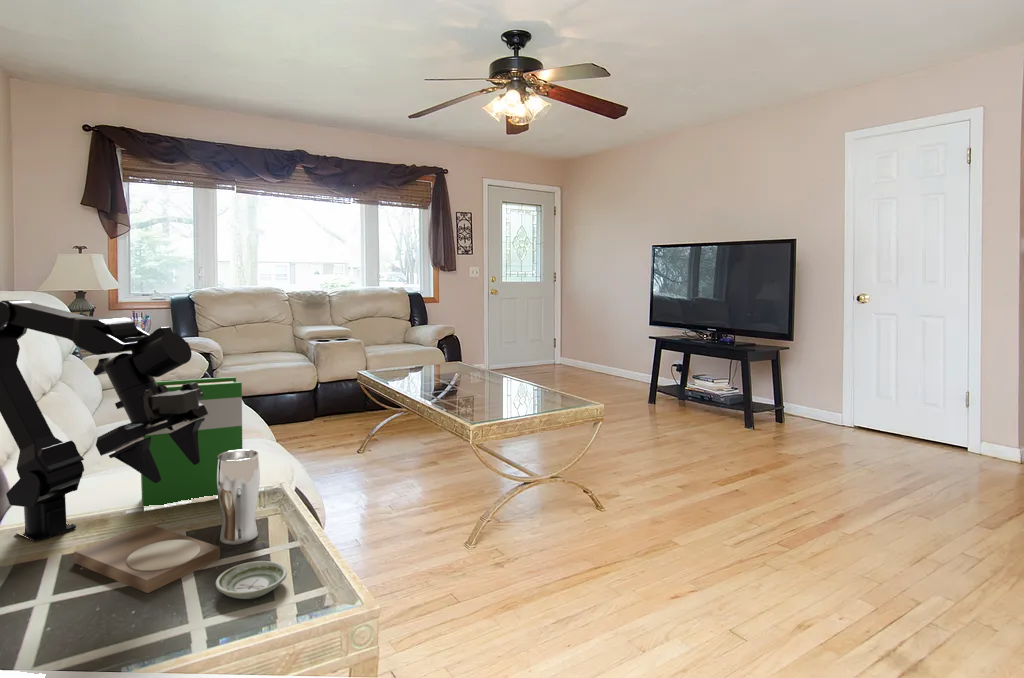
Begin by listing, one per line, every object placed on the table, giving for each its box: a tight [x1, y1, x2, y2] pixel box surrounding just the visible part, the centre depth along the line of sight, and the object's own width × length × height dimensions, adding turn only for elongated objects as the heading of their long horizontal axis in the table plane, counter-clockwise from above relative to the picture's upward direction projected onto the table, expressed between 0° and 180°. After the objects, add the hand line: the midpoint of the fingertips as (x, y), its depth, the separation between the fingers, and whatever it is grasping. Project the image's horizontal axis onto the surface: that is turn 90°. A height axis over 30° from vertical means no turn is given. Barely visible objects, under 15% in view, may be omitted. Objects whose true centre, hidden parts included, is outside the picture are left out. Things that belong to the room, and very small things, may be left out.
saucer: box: [215, 560, 288, 600], centre depth 87 cm, size 10×10×2 cm
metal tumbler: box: [216, 448, 261, 546], centre depth 103 cm, size 7×7×15 cm
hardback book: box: [140, 376, 243, 507], centre depth 120 cm, size 18×7×24 cm, turn 124°
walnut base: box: [74, 523, 221, 594], centre depth 94 cm, size 18×12×2 cm, turn 65°
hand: (178, 472), depth 98 cm, fingers open, 9 cm apart
